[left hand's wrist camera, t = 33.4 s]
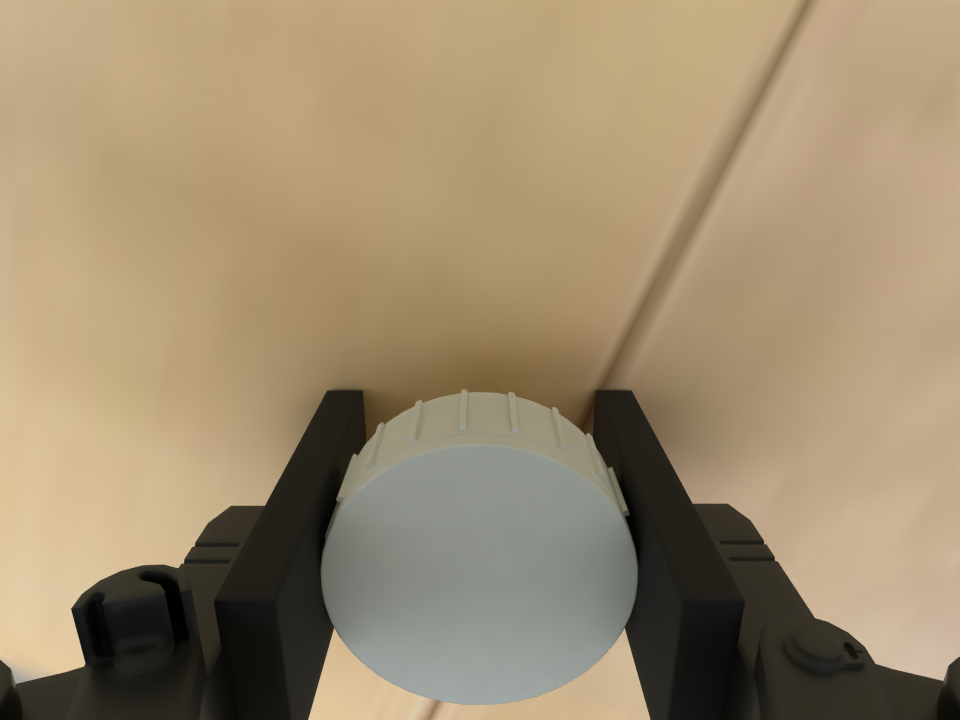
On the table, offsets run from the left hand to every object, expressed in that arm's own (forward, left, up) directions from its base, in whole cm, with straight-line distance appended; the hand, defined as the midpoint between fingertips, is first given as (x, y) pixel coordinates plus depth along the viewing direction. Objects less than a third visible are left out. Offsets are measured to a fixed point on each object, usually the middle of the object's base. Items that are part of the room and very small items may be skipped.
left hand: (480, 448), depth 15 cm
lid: (0, 0, +4) cm, 4 cm away
